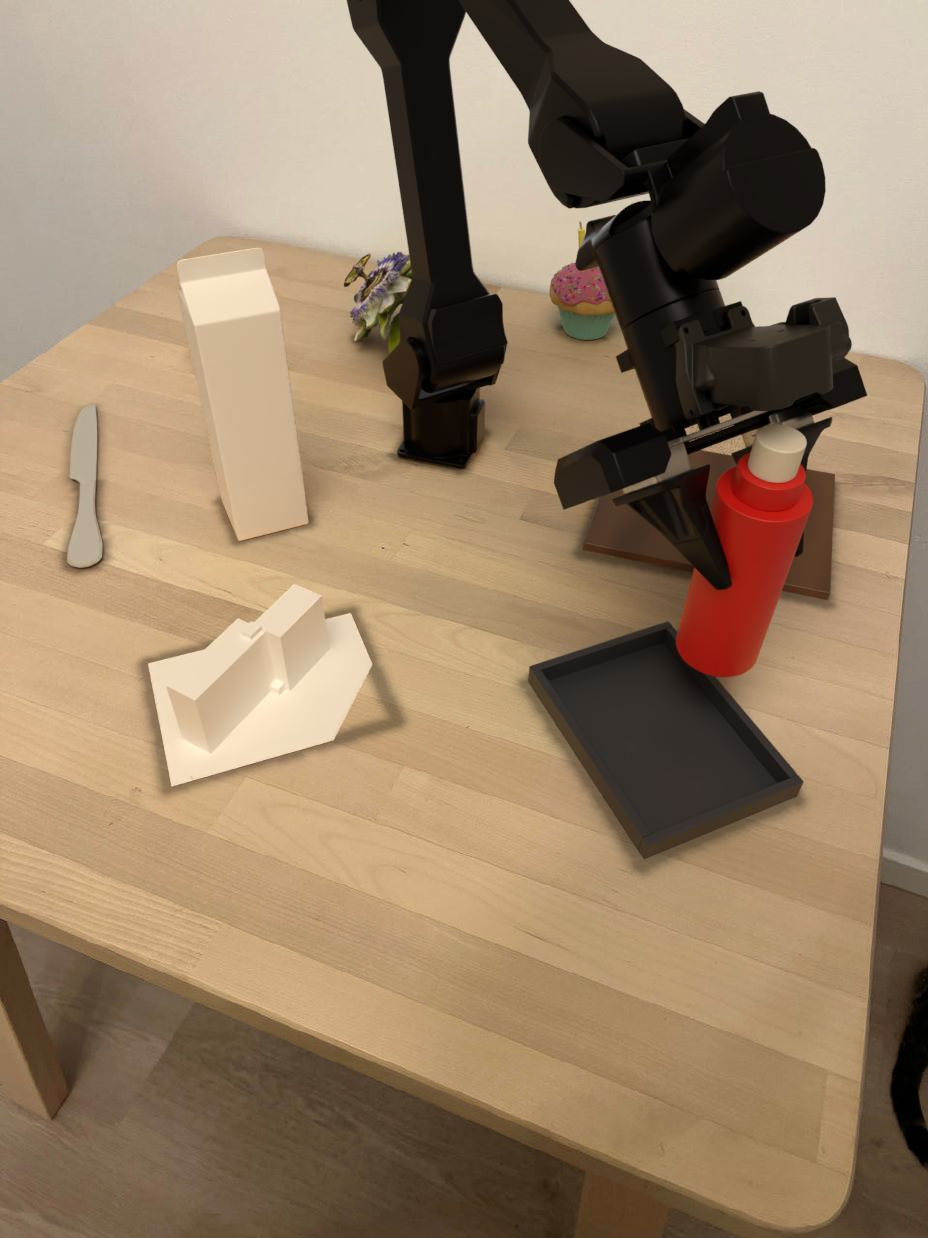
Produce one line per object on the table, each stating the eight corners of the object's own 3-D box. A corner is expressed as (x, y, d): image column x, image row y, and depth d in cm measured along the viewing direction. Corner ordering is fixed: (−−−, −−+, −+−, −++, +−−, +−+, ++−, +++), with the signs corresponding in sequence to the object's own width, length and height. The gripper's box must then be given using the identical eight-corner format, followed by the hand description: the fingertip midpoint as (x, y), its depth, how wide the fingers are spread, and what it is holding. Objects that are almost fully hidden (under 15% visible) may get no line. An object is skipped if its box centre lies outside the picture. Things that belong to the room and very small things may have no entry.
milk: (309, 524, 77) (277, 265, 62) (237, 542, 75) (185, 280, 60) (289, 483, 81) (253, 229, 66) (219, 499, 79) (166, 242, 64)
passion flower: (368, 384, 103) (340, 273, 101) (464, 361, 103) (438, 249, 101) (360, 376, 92) (329, 251, 90) (467, 350, 92) (438, 225, 90)
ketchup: (674, 671, 58) (732, 460, 47) (676, 613, 62) (729, 405, 51) (759, 683, 58) (838, 472, 46) (755, 624, 61) (828, 416, 50)
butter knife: (62, 567, 72) (101, 561, 73) (73, 404, 89) (105, 400, 89) (63, 571, 72) (102, 565, 73) (74, 408, 89) (106, 404, 89)
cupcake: (572, 355, 98) (584, 241, 89) (531, 320, 103) (539, 209, 95) (640, 337, 101) (657, 225, 92) (596, 304, 106) (609, 196, 97)
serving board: (581, 554, 75) (583, 542, 74) (618, 446, 86) (619, 435, 85) (825, 604, 71) (830, 593, 70) (831, 484, 82) (835, 473, 81)
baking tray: (527, 685, 65) (529, 665, 64) (664, 640, 68) (668, 620, 67) (642, 863, 55) (647, 845, 54) (795, 800, 58) (804, 781, 57)
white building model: (172, 789, 58) (151, 732, 54) (145, 664, 66) (126, 605, 62) (399, 721, 62) (395, 663, 58) (349, 611, 70) (344, 553, 66)
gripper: (613, 294, 41) (728, 622, 43) (899, 214, 48) (990, 497, 50) (507, 371, 52) (602, 633, 53) (756, 296, 59) (834, 529, 60)
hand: (760, 572), depth 54 cm, fingers closed on ketchup, 5 cm apart
